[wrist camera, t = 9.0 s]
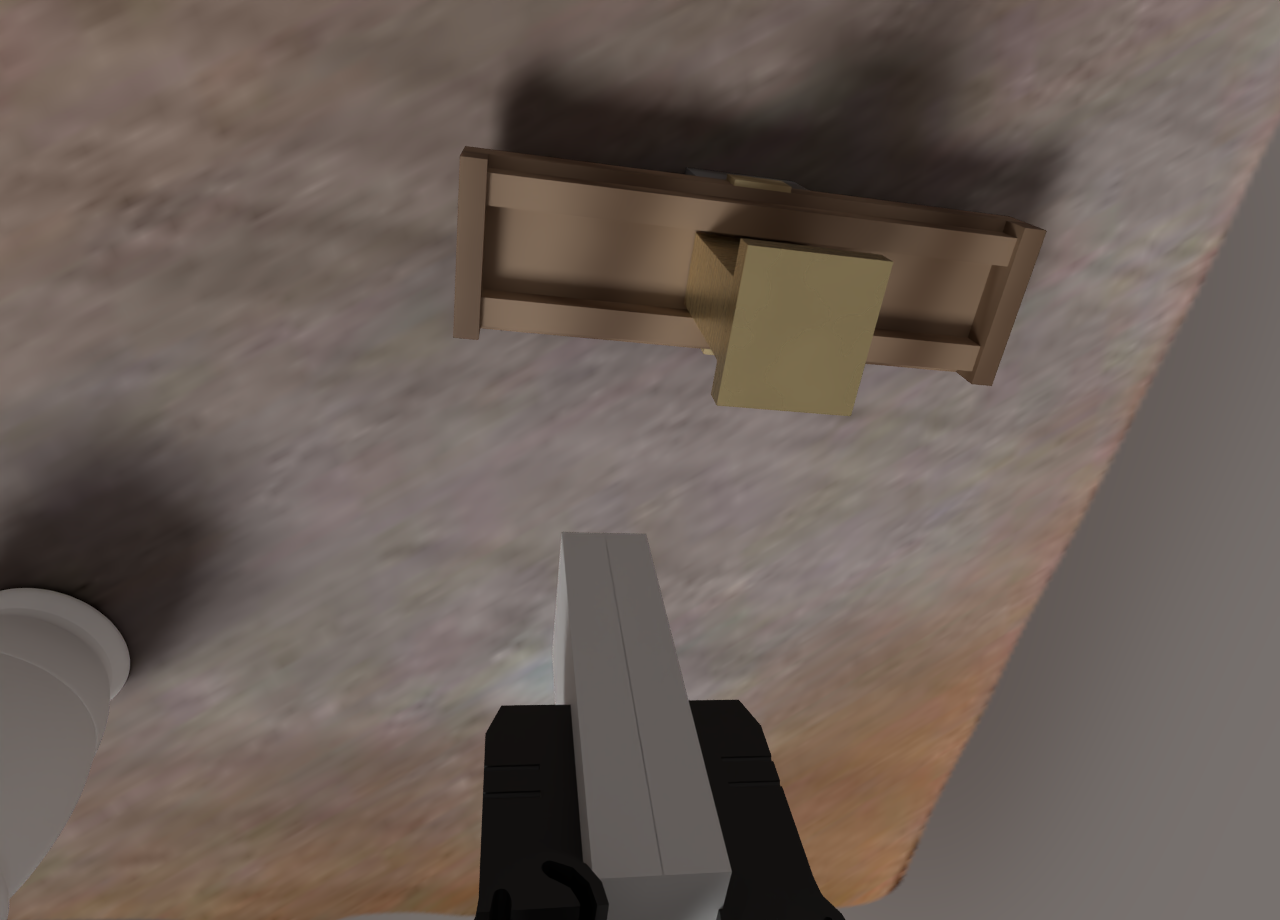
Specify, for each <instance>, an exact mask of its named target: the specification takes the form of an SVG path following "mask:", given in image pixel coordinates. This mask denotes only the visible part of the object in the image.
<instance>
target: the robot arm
mask: <svg viewBox="0 0 1280 920" xmlns="http://www.w3.org/2000/svg"><path fill="white" fill-rule="evenodd" d="M552 657H553V674H554V691H555V705H514V706H501V707H500V709H499V711H498V713H497V714H496V716H495V718H494V720H493V722H492V723H491V725H490V727H489V729H488V730H487V732H486V736H485V760H484V785H483V809H482V833H481V857H480V882H479V900H478V906H477V912H476V917H475V919H474V920H845V918H844V917H843V915H842V914H841V913H840V912H839V911H838V910H837V909H836V908H835V907H834V906H833V905H832V904H831V903H830V902H829V901H828V900H827V899H825V898H824V897H823V895H822V894H821V892H820V890H819V888H818V886H817V884H816V882H815V880H814V877H813V875H812V872H811V869H810V866H809V863H808V860H807V857H806V854H805V851H804V849H803V846H802V843H801V840H800V837H799V834H798V831H797V828H796V825H795V823H794V820H793V817H792V814H791V811H790V808H789V805H788V802H787V800H786V797H785V794H784V791H783V788H782V786H780V779H779V776H778V774H777V771H776V768H775V765H774V762H773V761H771V753H770V750H769V748H768V745H767V742H766V739H765V736H764V733H763V730H762V727H761V725H760V724H759V723H758V722H757V721H756V719H755V718H754V717H753V716H752V715H751V714H750V712H749V711H748V710H747V709H746V708H745V707H744V705H743V704H742V703H741V702H740V701H739V700H693V701H688V697H687V693H686V689H685V685H684V681H683V677H682V673H681V669H680V665H679V661H678V657H677V653H676V649H675V645H674V641H673V638H672V634H671V630H670V626H669V622H668V618H667V614H666V610H665V606H664V602H663V598H662V594H661V590H660V586H659V582H658V578H657V574H656V570H655V567H654V563H653V559H652V555H651V551H650V547H649V543H648V539H647V535H646V534H630V533H579V532H562V535H561V548H560V561H559V573H558V586H557V599H556V612H555V624H554V637H553V650H552Z"/></svg>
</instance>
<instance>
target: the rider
mask: <svg viewBox="0 0 1280 920" xmlns="http://www.w3.org/2000/svg"><path fill="white" fill-rule="evenodd" d="M892 265H893V261H891V260H890V259H888V258H886V257H885V256H883V255H880V254H872V253H863V252H855V251H846V250H838V249H829V248H821V247H812V246H808V245H799V244H791V243H782V242H774V241H765V240H757V239H748V238H739V237H731V236H722V235H714V234H705V233H697V232H695V238H694V244H693V251H692V257H691V263H690V269H689V275H688V281H687V287H686V293H685V299H684V304H685V306H686V307H687V309H688V311H689V313H690V314H691V316H692V318H693V319H694V321H695V323H696V325H697V326H698V328H699V330H700V331H701V333H702V335H703V337H704V338H705V340H706V342H707V343H708V345H709V347H710V349H711V350H712V352H713V354H714V355H715V357H716V359H717V365H716V371H715V376H714V381H713V386H712V392H711V395H712V397H713V399H714V401H715V403H716V405H718V406H730V407H743V408H755V409H768V410H780V411H793V412H805V413H818V414H830V415H843V416H851V413H852V410H853V406H854V403H855V399H856V395H857V392H858V388H859V384H860V381H861V377H862V374H863V370H864V366H865V363H866V359H867V356H868V352H869V348H870V345H871V341H872V338H873V334H874V330H875V327H876V323H877V320H878V316H879V312H880V309H881V305H882V301H883V298H884V294H885V291H886V287H887V283H888V280H889V276H890V273H891V269H892Z"/></svg>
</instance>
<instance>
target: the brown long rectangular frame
mask: <svg viewBox="0 0 1280 920" xmlns="http://www.w3.org/2000/svg"><path fill="white" fill-rule="evenodd" d="M695 232H697V233H705V234H714V235H722V236H731V237H739V238H748V239H757V240H765V241H774V242H782V243H791V244H799V245H808V246H812V247H821V248H829V249H838V250H846V251H855V252H863V253H872V254H880V255H883V256H885V257H886V258H888V259H890V260H891V261H893V265H892V269H891V273H890V276H889V280H888V283H887V287H886V291H885V294H884V298H883V301H882V305H881V309H880V312H879V316H878V320H877V323H876V327H875V330H874V334H873V338H872V341H871V345H870V348H869V352H868V356H867V359H866V363H865V364H875V365H886V366H897V367H907V368H918V369H929V370H940V371H951V372H957V373H958V374H959V375H961V376H962V377H963V378H965V379H966V380H967V381H968V382H970V383H971V384H976V385H987V386H992V384H993V381H994V378H995V375H996V372H997V370H998V367H999V364H1000V361H1001V358H1002V355H1003V353H1004V350H1005V347H1006V344H1007V341H1008V339H1009V336H1010V333H1011V330H1012V327H1013V324H1014V322H1015V319H1016V316H1017V313H1018V310H1019V308H1020V305H1021V302H1022V299H1023V296H1024V293H1025V291H1026V288H1027V285H1028V282H1029V279H1030V277H1031V274H1032V271H1033V268H1034V265H1035V262H1036V260H1037V257H1038V254H1039V251H1040V248H1041V246H1042V243H1043V240H1044V237H1045V234H1046V232H1047V231H1046V230H1044V229H1041V228H1038V227H1036V226H1033V225H1031V224H1028V223H1025V222H1023V221H1020V220H1017V219H1015V218H1012V217H1009V216H1002V215H994V214H986V213H979V212H971V211H963V210H956V209H948V208H940V207H932V206H925V205H917V204H909V203H901V202H894V201H886V200H878V199H870V198H863V197H855V196H847V195H839V194H832V193H824V192H816V191H809V190H807V189H806V188H804V187H802V186H800V185H798V184H797V183H795V182H793V181H786V180H779V179H771V178H764V177H756V176H748V175H741V174H733V173H725V172H718V171H710V170H702V169H695V168H687V167H686V171H685V174H677V173H669V172H662V171H654V170H646V169H638V168H631V167H623V166H615V165H607V164H600V163H592V162H584V161H577V160H569V159H561V158H553V157H546V156H538V155H530V154H522V153H515V152H507V151H499V150H491V149H484V148H476V147H468V146H465V148H464V149H463V151H462V153H461V155H460V167H459V195H458V222H457V249H456V276H455V304H454V331H453V338H462V339H473V340H478V339H479V333H480V328H483V329H494V330H505V331H516V332H527V333H538V334H549V335H559V336H570V337H581V338H592V339H603V340H614V341H625V342H636V343H646V344H657V345H668V346H679V347H690V348H701V350H702V352H703V354H710V355H714V354H713V352H712V350H711V349H710V347H709V345H708V343H707V342H706V340H705V338H704V337H703V335H702V333H701V331H700V330H699V328H698V326H697V325H696V323H695V321H694V319H693V318H692V316H691V314H690V313H689V311H688V309H687V307H686V306H685V304H684V299H685V293H686V287H687V281H688V275H689V269H690V263H691V257H692V251H693V244H694V238H695Z"/></svg>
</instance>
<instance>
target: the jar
mask: <svg viewBox="0 0 1280 920" xmlns="http://www.w3.org/2000/svg"><path fill="white" fill-rule="evenodd" d="M129 670H130V656H129V651H128V648H127V645H126V642H125V640H124V639H123V637H122V635H121V633H120V632H119V631H118V629H117V628H116V627H115V626H114V624H113V623H112V622H111V621H110V620H109V619H108V618H107V617H105V616H104V615H103V614H102V613H101V612H99V611H98V610H96V609H95V608H93V607H92V606H90V605H88V604H87V603H85V602H83V601H81V600H79V599H76V598H74V597H72V596H69V595H66V594H63V593H59V592H55V591H51V590H45V589H38V588H14V589H7V590H2V591H0V920H7V918H8V913H9V899H10V898H11V897H12V896H13V895H14V894H15V893H16V892H17V890H18V889H19V888H20V887H21V886H22V885H23V884H24V882H25V881H26V880H27V879H28V878H29V876H30V875H31V874H32V873H33V871H34V870H35V869H36V868H37V866H38V865H39V864H40V862H41V861H42V860H43V858H44V857H45V856H46V854H47V853H48V851H49V850H50V849H51V847H52V846H53V844H54V843H55V841H56V840H57V838H58V837H59V835H60V833H61V832H62V830H63V828H64V827H65V825H66V823H67V822H68V820H69V818H70V816H71V814H72V812H73V810H74V808H75V806H76V804H77V802H78V800H79V798H80V796H81V793H82V791H83V789H84V786H85V784H86V781H87V778H88V775H89V772H90V769H91V765H92V761H93V758H94V757H95V755H96V752H97V750H98V748H99V745H100V743H101V740H102V737H103V735H104V731H105V728H106V724H107V720H108V715H109V708H110V700H111V699H113V698H114V697H115V696H116V695H117V694H118V693H119V691H120V690H121V689H122V687H123V686H124V684H125V682H126V680H127V678H128V675H129Z"/></svg>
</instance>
